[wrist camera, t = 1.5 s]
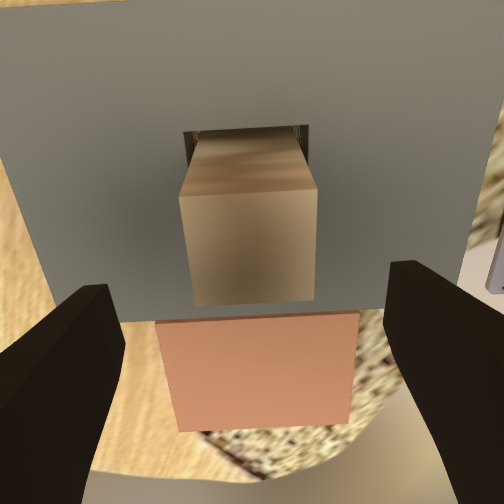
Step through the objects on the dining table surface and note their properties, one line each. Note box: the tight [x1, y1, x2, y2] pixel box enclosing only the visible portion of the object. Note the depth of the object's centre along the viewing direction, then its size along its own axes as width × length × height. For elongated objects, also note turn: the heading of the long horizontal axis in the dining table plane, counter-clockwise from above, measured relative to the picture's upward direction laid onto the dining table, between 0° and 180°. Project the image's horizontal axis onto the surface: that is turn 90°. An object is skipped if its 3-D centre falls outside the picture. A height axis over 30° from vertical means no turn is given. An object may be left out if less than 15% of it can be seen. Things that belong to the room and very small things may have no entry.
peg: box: [179, 126, 318, 307], centre depth 16 cm, size 4×4×8 cm
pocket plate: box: [0, 0, 504, 322], centre depth 19 cm, size 20×14×2 cm
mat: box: [155, 310, 360, 432], centre depth 27 cm, size 12×10×1 cm
